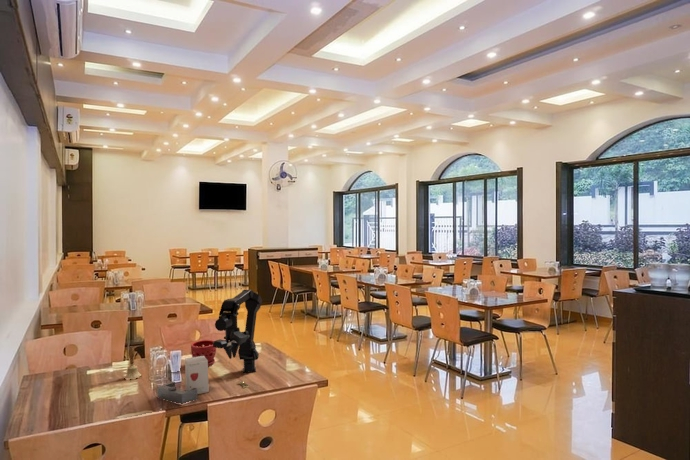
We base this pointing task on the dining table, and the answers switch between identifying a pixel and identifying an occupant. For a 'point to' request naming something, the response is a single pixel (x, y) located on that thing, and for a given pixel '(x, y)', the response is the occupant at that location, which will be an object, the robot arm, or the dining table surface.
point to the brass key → (243, 384)
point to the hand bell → (132, 366)
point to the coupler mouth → (176, 393)
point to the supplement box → (196, 374)
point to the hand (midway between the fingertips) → (232, 358)
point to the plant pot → (204, 350)
